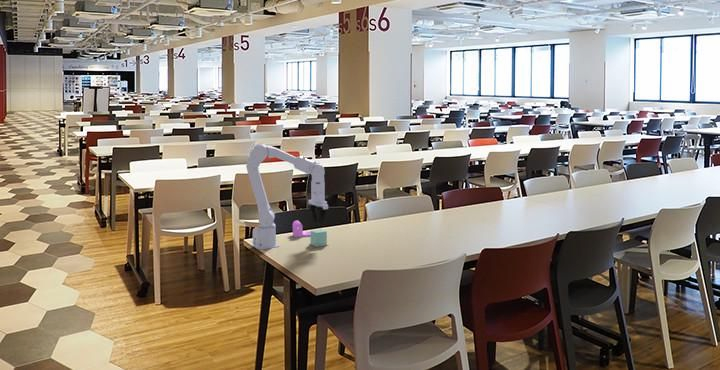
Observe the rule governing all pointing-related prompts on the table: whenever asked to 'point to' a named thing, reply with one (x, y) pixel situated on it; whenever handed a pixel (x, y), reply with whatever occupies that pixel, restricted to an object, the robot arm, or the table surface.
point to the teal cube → (318, 237)
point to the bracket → (299, 230)
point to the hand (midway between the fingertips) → (318, 223)
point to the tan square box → (318, 246)
